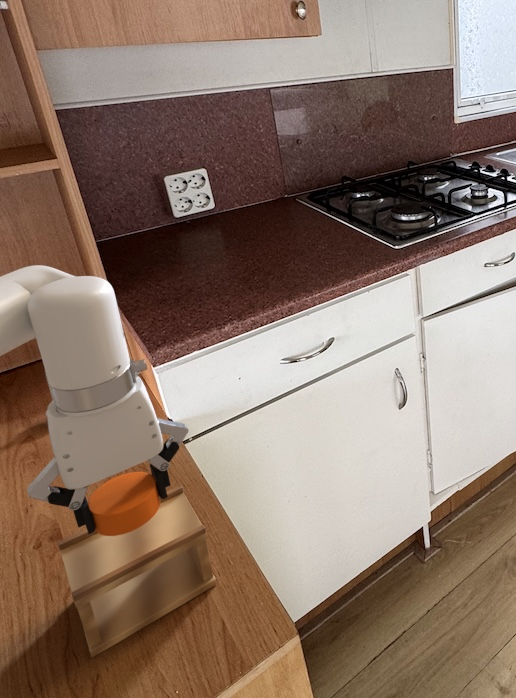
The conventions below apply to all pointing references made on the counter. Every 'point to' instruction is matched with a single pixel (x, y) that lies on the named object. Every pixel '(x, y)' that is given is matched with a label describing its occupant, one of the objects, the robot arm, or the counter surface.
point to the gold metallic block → (137, 572)
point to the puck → (124, 503)
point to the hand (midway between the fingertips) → (126, 508)
